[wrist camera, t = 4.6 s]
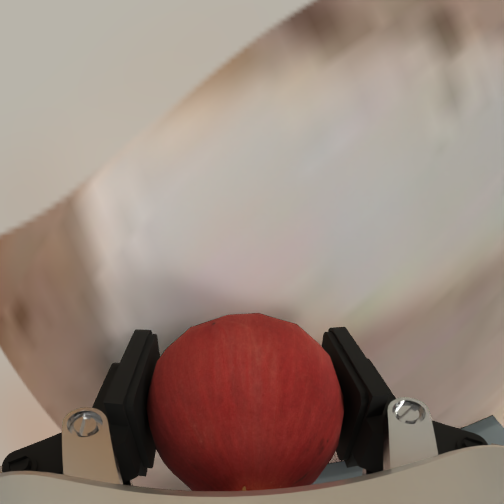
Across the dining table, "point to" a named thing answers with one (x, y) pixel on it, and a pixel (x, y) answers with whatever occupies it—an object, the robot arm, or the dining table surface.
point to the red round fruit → (245, 405)
